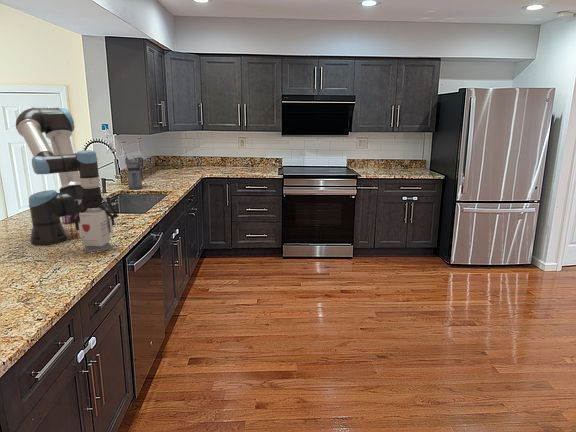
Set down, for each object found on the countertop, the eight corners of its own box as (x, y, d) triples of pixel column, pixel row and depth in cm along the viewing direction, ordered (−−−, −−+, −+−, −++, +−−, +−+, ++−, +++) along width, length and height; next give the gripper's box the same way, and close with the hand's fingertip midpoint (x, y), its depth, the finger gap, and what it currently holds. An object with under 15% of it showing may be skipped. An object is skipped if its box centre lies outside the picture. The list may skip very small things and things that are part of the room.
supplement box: (82, 246, 180) (77, 212, 177) (92, 239, 189) (88, 208, 185) (102, 246, 180) (98, 213, 176) (111, 240, 189) (108, 208, 185)
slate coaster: (87, 253, 179) (86, 250, 178) (84, 247, 187) (84, 244, 187) (111, 249, 184) (111, 246, 183) (108, 243, 192) (108, 240, 191)
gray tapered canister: (145, 189, 321) (143, 157, 315) (127, 190, 317) (124, 157, 310) (145, 186, 330) (142, 155, 324) (127, 188, 326) (124, 156, 320)
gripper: (59, 191, 169) (66, 241, 175) (121, 185, 181) (126, 232, 186) (58, 188, 175) (65, 236, 181) (118, 183, 187) (123, 228, 193)
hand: (96, 234), depth 184 cm, fingers closed on supplement box, 12 cm apart
